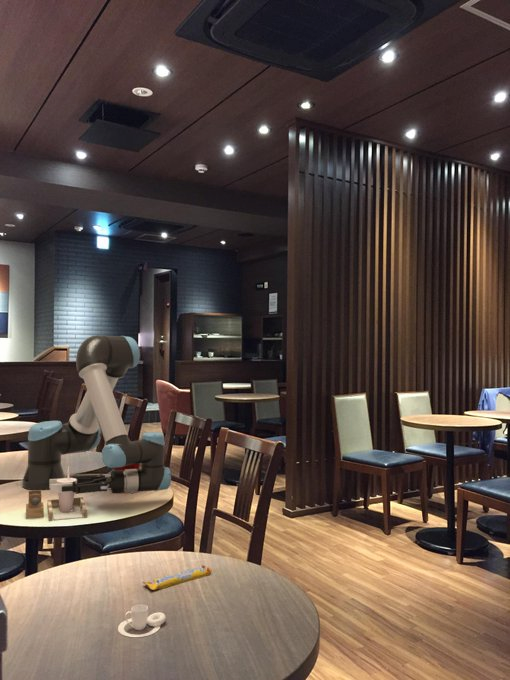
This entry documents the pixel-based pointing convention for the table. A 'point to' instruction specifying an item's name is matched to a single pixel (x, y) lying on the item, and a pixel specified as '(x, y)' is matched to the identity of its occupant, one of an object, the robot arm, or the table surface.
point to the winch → (34, 505)
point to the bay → (55, 504)
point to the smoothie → (66, 494)
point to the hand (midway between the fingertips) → (49, 486)
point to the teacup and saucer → (142, 621)
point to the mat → (67, 515)
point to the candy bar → (178, 578)
